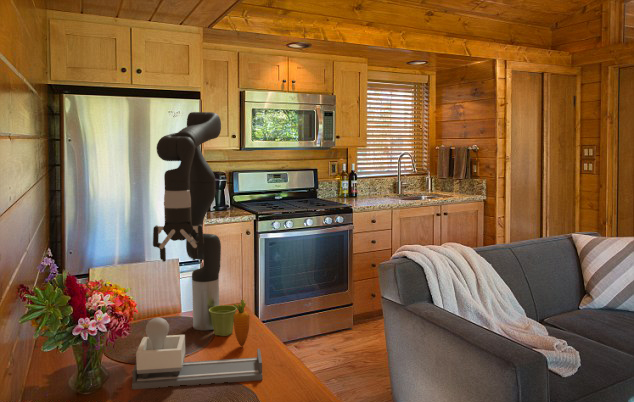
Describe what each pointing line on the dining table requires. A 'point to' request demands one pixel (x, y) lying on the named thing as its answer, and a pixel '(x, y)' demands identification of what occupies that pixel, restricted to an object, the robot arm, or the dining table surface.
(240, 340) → the carrot
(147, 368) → the cream open box
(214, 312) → the plant pot
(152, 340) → the lightbulb
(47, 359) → the dining table surface
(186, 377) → the rail board
